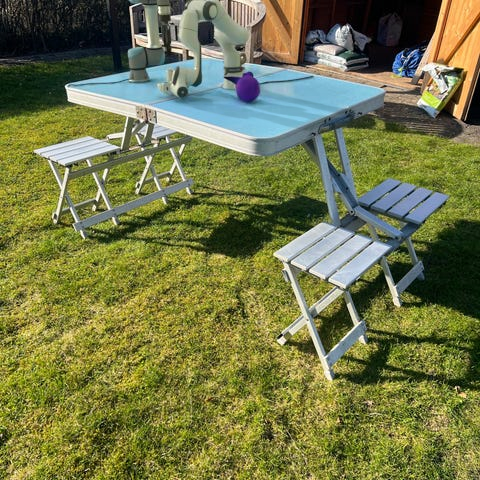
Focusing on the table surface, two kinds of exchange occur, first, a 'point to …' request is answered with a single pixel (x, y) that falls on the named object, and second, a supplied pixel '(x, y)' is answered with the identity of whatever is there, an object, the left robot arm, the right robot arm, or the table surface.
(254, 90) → the toy
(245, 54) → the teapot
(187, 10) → the right robot arm
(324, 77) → the table surface
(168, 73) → the cream long cylinder
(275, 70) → the table surface
